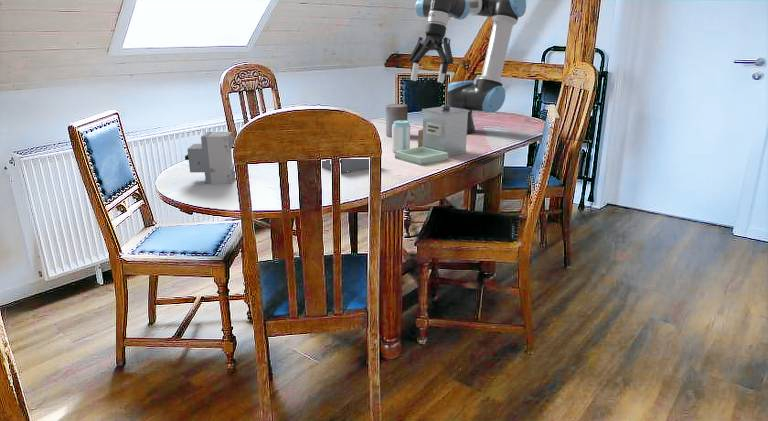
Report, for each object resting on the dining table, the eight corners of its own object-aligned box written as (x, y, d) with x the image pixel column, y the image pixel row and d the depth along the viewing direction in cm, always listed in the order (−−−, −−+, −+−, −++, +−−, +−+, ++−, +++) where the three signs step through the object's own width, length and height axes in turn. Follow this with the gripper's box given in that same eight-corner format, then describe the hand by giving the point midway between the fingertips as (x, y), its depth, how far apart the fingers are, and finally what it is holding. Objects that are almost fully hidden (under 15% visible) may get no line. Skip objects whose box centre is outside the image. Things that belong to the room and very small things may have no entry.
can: (389, 150, 216) (389, 120, 212) (406, 149, 218) (406, 119, 214) (395, 154, 210) (395, 123, 206) (412, 152, 212) (412, 122, 208)
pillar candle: (408, 134, 249) (408, 100, 244) (405, 138, 240) (406, 103, 235) (387, 133, 251) (387, 100, 246) (384, 137, 241) (383, 103, 237)
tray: (422, 152, 212) (422, 146, 211) (447, 159, 202) (448, 152, 201) (394, 158, 204) (395, 151, 203) (420, 165, 193) (420, 158, 193)
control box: (443, 147, 221) (445, 102, 215) (467, 153, 212) (469, 105, 206) (420, 152, 213) (421, 104, 207) (443, 157, 204) (445, 108, 198)
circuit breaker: (191, 177, 176) (186, 132, 172) (236, 177, 178) (232, 131, 173) (185, 184, 169) (180, 136, 165) (232, 183, 171) (228, 136, 166)
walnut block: (424, 145, 226) (425, 128, 224) (434, 146, 223) (435, 129, 221) (418, 147, 222) (418, 130, 220) (428, 148, 219) (429, 131, 217)
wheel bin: (354, 159, 202) (354, 143, 200) (377, 166, 191) (377, 149, 190) (318, 165, 192) (317, 149, 190) (340, 173, 182) (340, 156, 180)
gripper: (406, 22, 211) (396, 77, 214) (457, 21, 194) (446, 81, 197) (418, 27, 216) (408, 81, 219) (469, 27, 200) (458, 85, 203)
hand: (426, 81), depth 208 cm, fingers open, 13 cm apart
